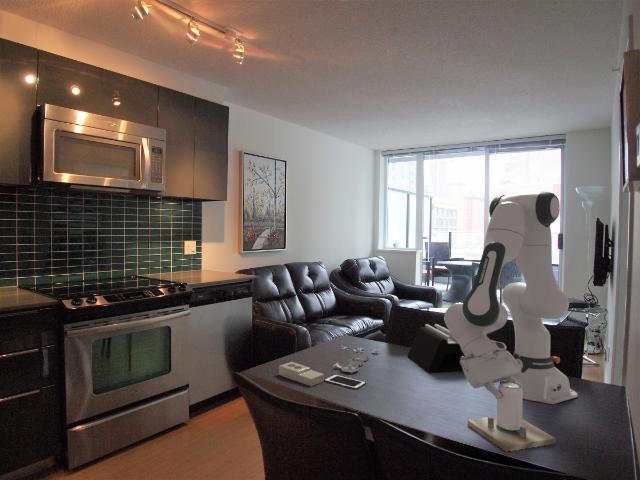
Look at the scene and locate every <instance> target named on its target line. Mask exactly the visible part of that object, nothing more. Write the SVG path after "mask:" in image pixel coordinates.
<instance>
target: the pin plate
mask: <svg viewBox="0 0 640 480" xmlns="http://www.w3.org/2000/svg"><path fill="white" fill-rule="evenodd" d="M467 426H468V427H470V428H471V429H473V430H474V431H476V432H477V433H478V434H480V435H481V436H483V437H484V436H485V437H486V439H487V438H488V439H489V440H488V439H487V440H488V441H490V442H491V441H492V442H491V443H493V444H494V445H495V444H496V445H495V446H497V447H498V446H499V449H501V448H502V449H503V451H504V450H505V451H506V453H508V452H507V451H511V452H514V451H513V450H517V451H520V450H519V449H523V450H526V449H525V448H528V449H533V448H532V447H534V448H539V447H544V445H545V446H550V445H555V444H556V437H554V436H552V435H550V434H549V433H547V432H545V431H544V430H542V429H540V428H538V427H536V426H535V425H533V424H531V423H530V422H528V421H526V420H525V419H523V418H522V424H521V427H520V430H518V431H510V430H505V429H503V428H501V427H499V426H498V424H497V415H493V416H485V417H479V418H471V419H467ZM485 437H484V438H485ZM538 446H539V447H538ZM502 449H501V450H502ZM505 451H504V452H505Z"/></svg>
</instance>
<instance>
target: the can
mask: <svg viewBox="0 0 640 480" xmlns="http://www.w3.org/2000/svg"><path fill="white" fill-rule="evenodd" d="M497 389H498V390H499V391H500V390H501V392H502V394H503V397H502V398H501V399H496V416H497V424H498V426H499V427H501V428H503V429H505V430H510V431H518V430H520V427H521V424H522V419H523V391H522V389H521V385H520V384H519V383H516V382H513V381H506V380H503V381H500V382H499V385H498V386H497Z"/></svg>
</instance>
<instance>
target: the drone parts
mask: <svg viewBox="0 0 640 480" xmlns="http://www.w3.org/2000/svg"><path fill="white" fill-rule="evenodd" d="M340 347H341V349H340V350H341V351H343V350H344V349H351V348H352V346H351V345H349V346H343V344H340ZM352 350H353V352H356V354H355V355H353V359H354V360H353V359H351V358H350V359H348V360H347V363H343V364H342V365H340V364H339V362H336V363H335V364H333V365H332V368H335V367H336V368H339V369H340V370H341V372H342V373H345V372H346V373H350V374H352V375H353V373H355V372H357V371H359V369H360V368H359V367H360V366H362V365H364V364H365V363H364V362H367V361H368V360H369V359H370V357H369V355H365V354H364V355H362V354H361V356H359V354H357V352H359V353H364V352H365V351H364V350H365V346H364V347H360V346H358V348H357V349H352ZM380 351H381V349H380V348H379V349H378V350H376V348H373V349H372V350H370V352H371V354H372V353H373V354H374V355H375V354H380Z"/></svg>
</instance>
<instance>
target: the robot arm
mask: <svg viewBox="0 0 640 480" xmlns="http://www.w3.org/2000/svg"><path fill="white" fill-rule="evenodd" d="M560 208H561V207H560V200H559V198H558V196H557V195H556V194H555V193H553V192H551V191H541V192H540V191H535V192H534V191H525V192H520V193H512V194H500V195H499V196H495V197H494V198H493V199H492V200H491V202H490V204H489V207H488V212H489V217H490V219H489V223H488V225H487V230H486V233H485V234H486V235H485V239H484V247H483V252H482V254H481V258H480V262H479V265H478V269H477V272H476V276H475V279H474V284H473V285H472V288H471V290H470V291H469V292H468V294H467V295H466V296H465V298H464V300H463V302H455V303H453V304H452V305H450V306H449V307H448V308H447V309H446V310H445V313H444V315H443V320H444V323H445V325H446V329H448V330H449V331H450V333H451V335H452V336H453V338H454V339H455V340H456V341H457V342H458V343H459V345H460V347H461V350H462V352H463V353H464V355H465V356H462V357H461V359H460V364H461V365H462V368H463V371H464V372H463V373H464V376H465V378H466V379H467V381H468V383H469V385H470V386H471V387H472V388H474V389H478V388H479V389H480V388H482V387H485V389H486V390H487V391H488V392H489V393H491V394H492V395H493V396H494V397H495V399H496V400H497V399H501V398H502V397H503V394H502V392H501V390H500V391H499V390H498V387H496V386H495V384H497V383H500V381H513V382H516V383H519V384H520V385H521V389H522V391H523V399H524V400H528V401H534V402H541V403H545V404H549V405H555V404H558V403H562V402H565V401H569V400H571V399H572V400H573V399H575V398H577V397H578V393H577V392H576V391H575V390H573V389H571V387H570V381H569V378H568V376H566V374H564V373H563V372H562V371H560V369H558V368H557V367H555V364H554V363H556V364H559V363H560V362H561V359H560V357H558V356H556V355H555V356H554V355H553V356H551V333H550V331H549V330H548V329H547V328H546V326H545V324H544V322H543V320H542V319H545V320H546V319H547V320H558V319H561V318H563V317H564V316H565V315H566V314H567V313H568V310H569V307H570V301H569V298H568V296H567V295H566V293H565V292H564V291H563V290H562V288H561V287H560V286H559V284H558V282H557V280H556V277H555V274H554V269H553V252H552V251H553V249H552V247H553V246H552V244H553V241H552V230H551V229H552V228H551V225H552V224H553V223H555V221H556V220H557V219H558V217H559V216H560V210H561V209H560ZM515 259H516V261H515V262H516V264H515V265H516V267H517V269H518V270H519V272H520V273H521V274H522V276H523V279H524V281H525V282H524V281H519V282H518V281H517V282H511V283H508V284H507V285H505V286H504V288H503V290H502V293H501V297H502V298H501V299H502V302H503V303H504V305H505V306H506V307H507V309H506V307H505V306H504V305H503V304H502V303H501V302H500V301H499V300H498V297H497V290H498V286H499V282H500V278H501V274H502V270H503V268H504V266H505V265H506V264H507V263H509V262H512V261H514V260H515ZM507 310H508V311H509V313H510V316H511V319H512V320H511V321H512V323H513V327H514V328H513V329H514V339H515V340H514V344H515V346H514V349H515V350H514V351H513V355H512V354H511V352H509V351H508V350H507V345H506V344H505V343H504V342H502V341H501V342H500V341H496V340H493V339H490V338H489V337H488V334H491V333H493V332H496V331H497V330H501V329H502V328H503V327H504V326H505V325H506V323H507V322H508V319H509V318H508V315H509V314H508V311H507Z"/></svg>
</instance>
